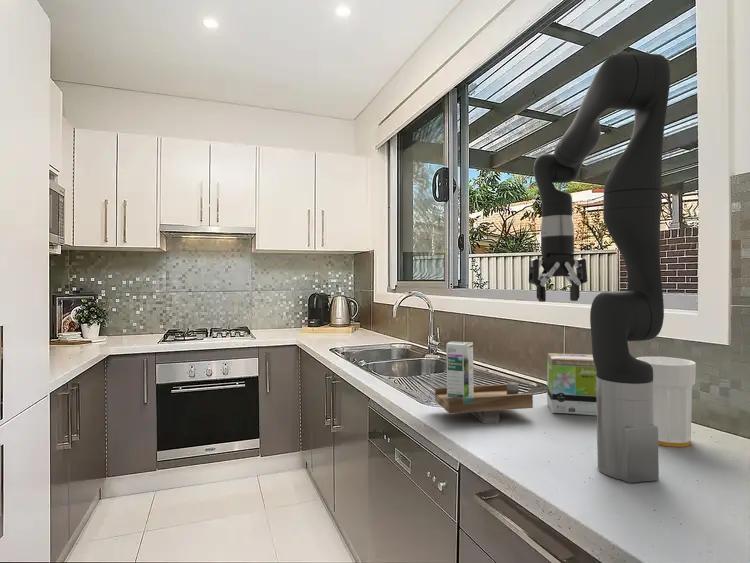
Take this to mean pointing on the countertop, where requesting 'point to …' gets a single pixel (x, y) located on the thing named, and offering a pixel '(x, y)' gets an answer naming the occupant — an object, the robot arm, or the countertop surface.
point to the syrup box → (459, 369)
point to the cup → (672, 398)
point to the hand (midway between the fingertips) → (558, 301)
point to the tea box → (571, 384)
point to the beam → (486, 401)
